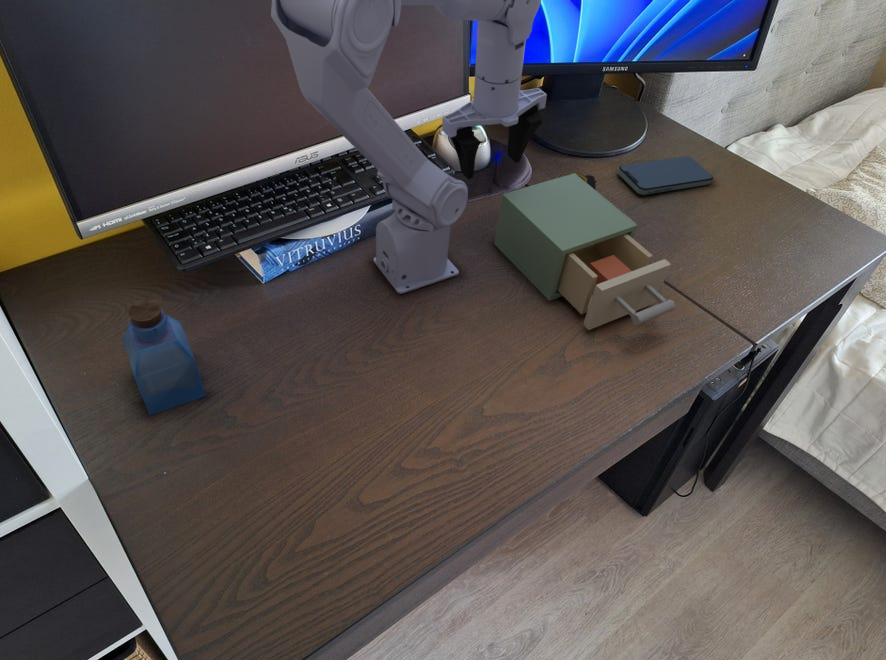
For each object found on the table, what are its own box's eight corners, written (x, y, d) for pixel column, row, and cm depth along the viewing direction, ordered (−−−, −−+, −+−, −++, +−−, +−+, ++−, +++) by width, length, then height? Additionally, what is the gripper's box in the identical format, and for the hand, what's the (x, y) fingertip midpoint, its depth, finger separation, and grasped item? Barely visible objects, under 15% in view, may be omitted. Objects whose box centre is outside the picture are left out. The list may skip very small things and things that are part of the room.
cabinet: (620, 274, 95) (638, 225, 88) (549, 301, 90) (562, 250, 84) (562, 222, 102) (574, 172, 96) (493, 244, 98) (502, 193, 91)
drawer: (679, 325, 87) (698, 286, 82) (612, 354, 83) (627, 315, 78) (595, 250, 97) (607, 210, 92) (532, 272, 92) (541, 232, 87)
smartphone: (716, 178, 111) (642, 189, 106) (712, 186, 112) (638, 198, 108) (689, 154, 116) (617, 164, 111) (685, 163, 117) (614, 173, 112)
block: (601, 304, 87) (609, 281, 84) (582, 286, 90) (590, 263, 87) (625, 295, 89) (633, 272, 86) (605, 277, 91) (613, 254, 88)
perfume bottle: (191, 359, 79) (168, 282, 70) (206, 396, 76) (183, 320, 67) (137, 376, 77) (106, 299, 68) (149, 414, 74) (118, 339, 65)
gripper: (463, 103, 77) (459, 198, 88) (566, 72, 82) (550, 166, 92) (434, 75, 81) (433, 170, 92) (533, 47, 85) (522, 140, 96)
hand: (490, 166), depth 92 cm, fingers open, 7 cm apart
